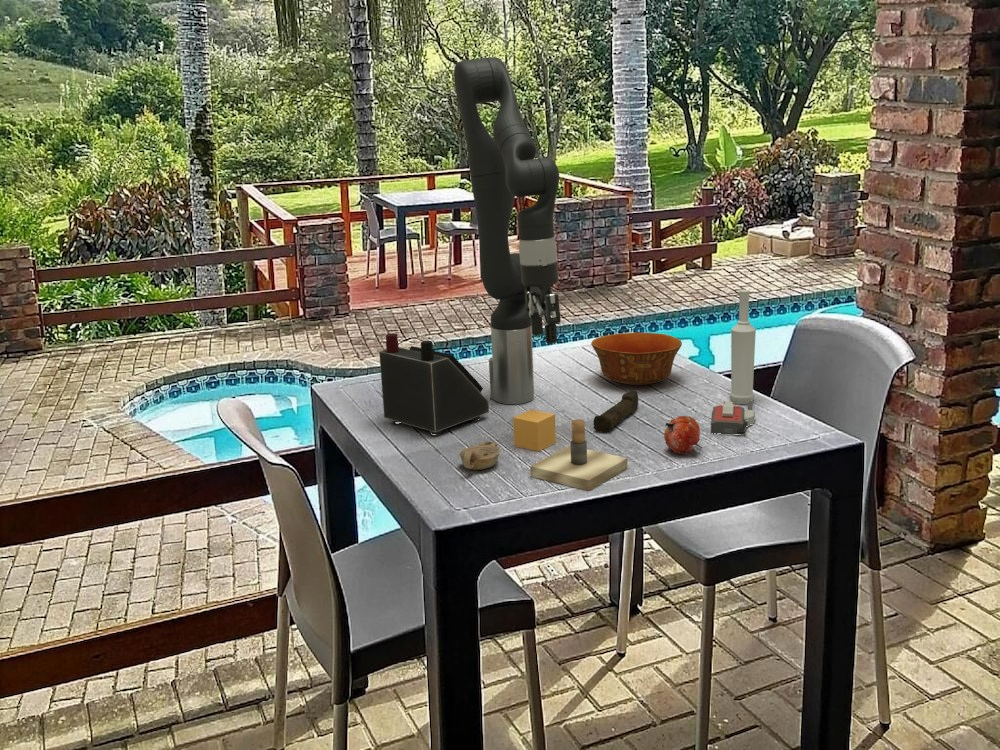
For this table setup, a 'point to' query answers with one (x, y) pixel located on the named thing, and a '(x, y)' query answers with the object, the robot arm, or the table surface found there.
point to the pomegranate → (682, 434)
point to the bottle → (742, 354)
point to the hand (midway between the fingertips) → (544, 338)
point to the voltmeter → (428, 387)
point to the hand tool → (617, 412)
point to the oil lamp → (480, 456)
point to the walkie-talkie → (731, 418)
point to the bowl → (636, 356)
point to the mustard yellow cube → (534, 430)
